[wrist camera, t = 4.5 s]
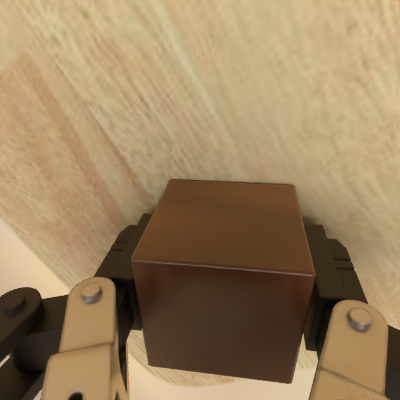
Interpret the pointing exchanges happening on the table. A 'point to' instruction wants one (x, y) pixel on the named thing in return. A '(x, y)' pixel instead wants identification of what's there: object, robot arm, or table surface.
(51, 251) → the table surface
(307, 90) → the table surface
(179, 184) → the block
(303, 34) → the table surface
